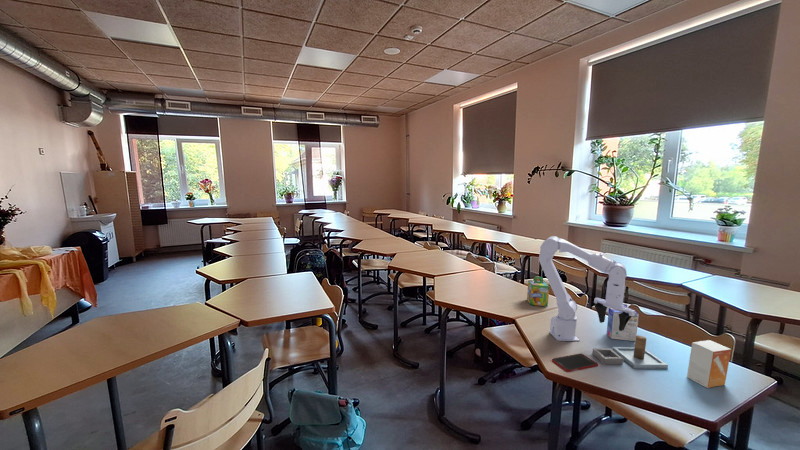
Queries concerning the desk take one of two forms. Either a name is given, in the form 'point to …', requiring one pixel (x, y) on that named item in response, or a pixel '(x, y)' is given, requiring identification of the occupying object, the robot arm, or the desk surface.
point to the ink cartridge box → (613, 326)
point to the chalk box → (538, 292)
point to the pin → (639, 347)
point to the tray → (647, 362)
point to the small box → (708, 363)
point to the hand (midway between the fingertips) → (611, 326)
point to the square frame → (607, 360)
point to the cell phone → (574, 362)
